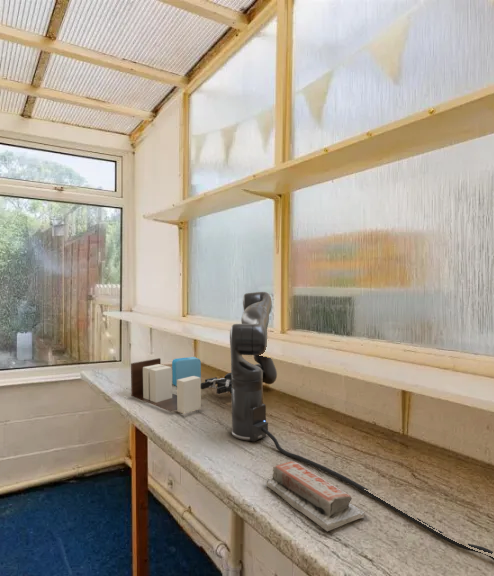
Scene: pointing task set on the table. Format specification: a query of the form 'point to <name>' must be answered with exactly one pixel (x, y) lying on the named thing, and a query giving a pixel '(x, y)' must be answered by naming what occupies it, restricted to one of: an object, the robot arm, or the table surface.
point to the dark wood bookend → (138, 385)
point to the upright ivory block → (188, 394)
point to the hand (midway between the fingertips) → (209, 388)
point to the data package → (185, 368)
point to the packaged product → (313, 496)
